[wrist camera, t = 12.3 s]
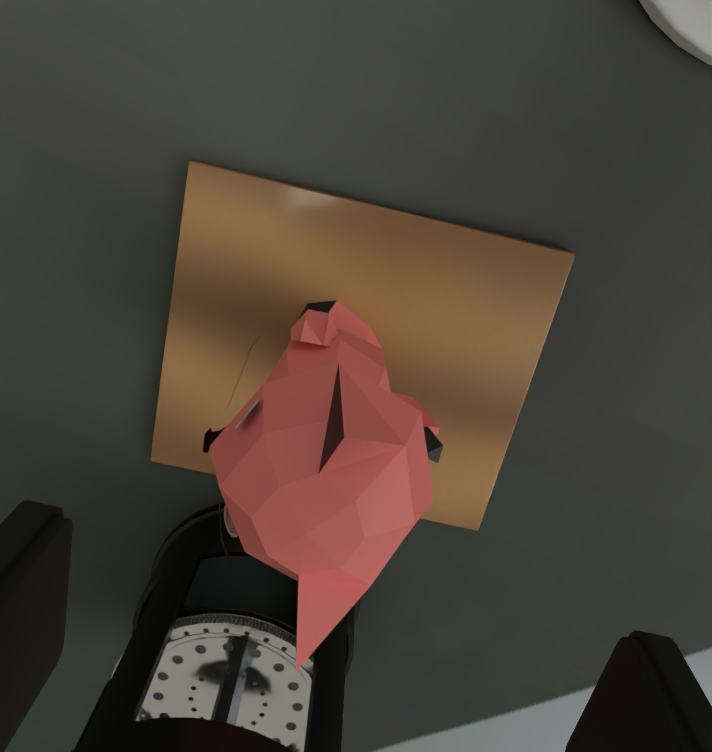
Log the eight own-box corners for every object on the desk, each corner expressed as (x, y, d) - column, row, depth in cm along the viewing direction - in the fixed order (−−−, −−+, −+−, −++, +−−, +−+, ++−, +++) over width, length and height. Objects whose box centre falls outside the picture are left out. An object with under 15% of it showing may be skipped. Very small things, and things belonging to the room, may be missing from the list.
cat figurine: (267, 260, 23) (168, 376, 12) (451, 296, 23) (525, 443, 12) (242, 433, 26) (140, 666, 14) (409, 464, 26) (438, 714, 15)
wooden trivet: (192, 160, 22) (188, 160, 22) (572, 251, 23) (576, 254, 23) (153, 455, 27) (149, 461, 26) (476, 524, 27) (478, 531, 27)
